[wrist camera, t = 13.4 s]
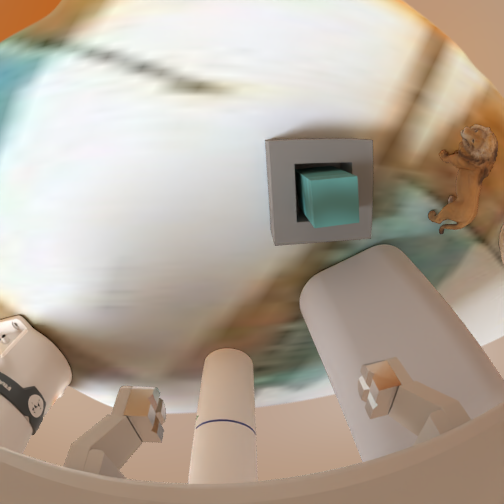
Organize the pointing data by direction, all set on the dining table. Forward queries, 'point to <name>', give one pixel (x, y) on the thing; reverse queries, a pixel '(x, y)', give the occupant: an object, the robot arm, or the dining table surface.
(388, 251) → the plastic bottle
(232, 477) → the cylindrical container
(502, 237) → the lidded bowl
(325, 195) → the teal pin
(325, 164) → the bore block
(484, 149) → the lion figurine
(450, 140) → the dining table surface
